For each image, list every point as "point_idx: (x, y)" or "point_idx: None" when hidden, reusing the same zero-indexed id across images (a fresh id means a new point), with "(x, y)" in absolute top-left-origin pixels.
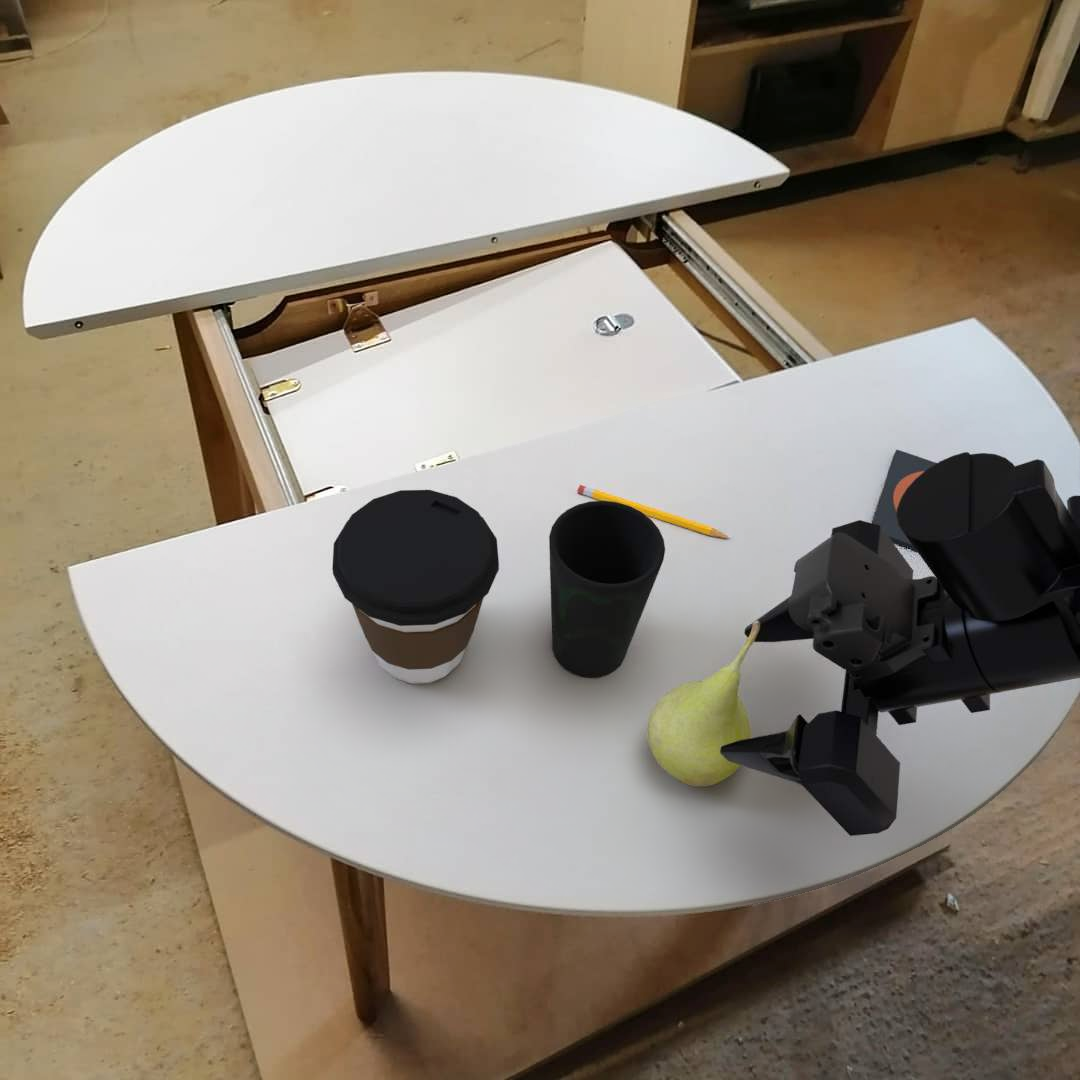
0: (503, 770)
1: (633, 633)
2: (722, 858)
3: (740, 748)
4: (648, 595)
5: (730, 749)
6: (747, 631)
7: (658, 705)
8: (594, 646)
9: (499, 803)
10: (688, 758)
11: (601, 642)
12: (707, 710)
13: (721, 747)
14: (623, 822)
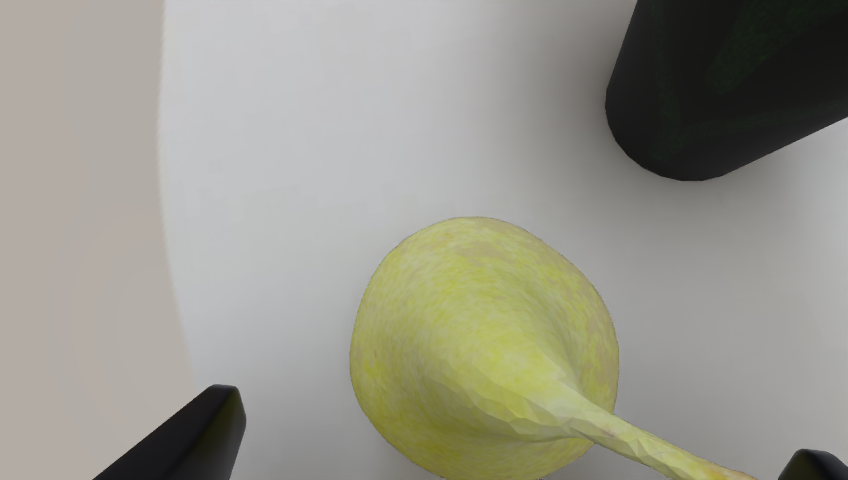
0: (369, 21)
1: (722, 143)
2: (272, 434)
3: (124, 462)
4: (842, 64)
5: (172, 420)
6: (811, 463)
7: (493, 222)
8: (636, 48)
9: (307, 30)
10: (360, 319)
11: (647, 51)
12: (423, 334)
13: (226, 388)
14: (311, 237)
